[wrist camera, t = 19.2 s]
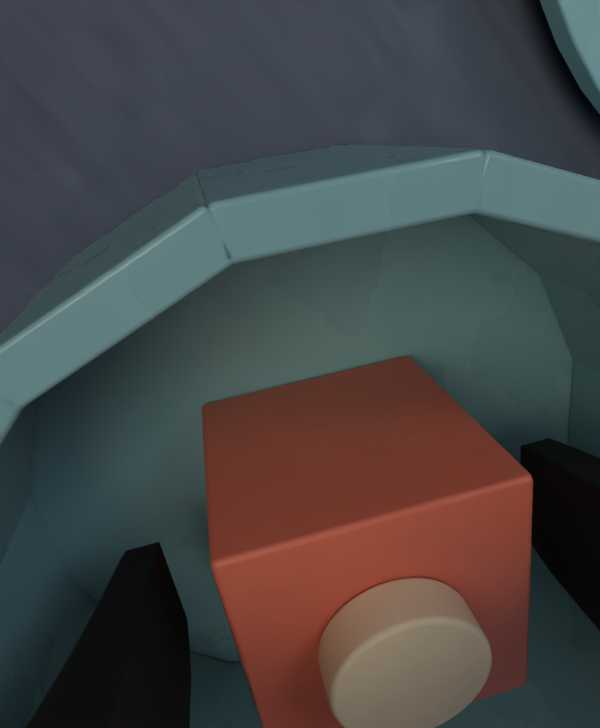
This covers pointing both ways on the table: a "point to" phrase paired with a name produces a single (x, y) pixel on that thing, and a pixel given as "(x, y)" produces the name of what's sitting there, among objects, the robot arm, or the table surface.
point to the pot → (288, 381)
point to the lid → (578, 41)
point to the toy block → (367, 549)
